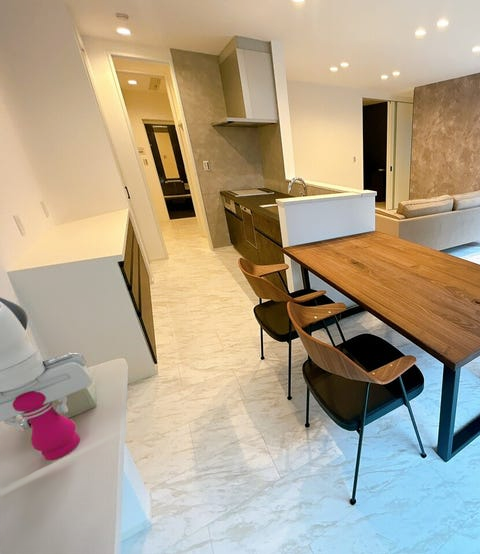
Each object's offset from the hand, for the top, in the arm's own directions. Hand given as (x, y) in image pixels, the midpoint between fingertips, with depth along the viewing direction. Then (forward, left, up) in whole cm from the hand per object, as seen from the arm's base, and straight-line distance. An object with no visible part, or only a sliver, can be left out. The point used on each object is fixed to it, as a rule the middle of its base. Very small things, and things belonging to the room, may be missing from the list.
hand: (45, 419), depth 68 cm
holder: (+1, +17, -9) cm, 19 cm away
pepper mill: (0, 0, -9) cm, 9 cm away
